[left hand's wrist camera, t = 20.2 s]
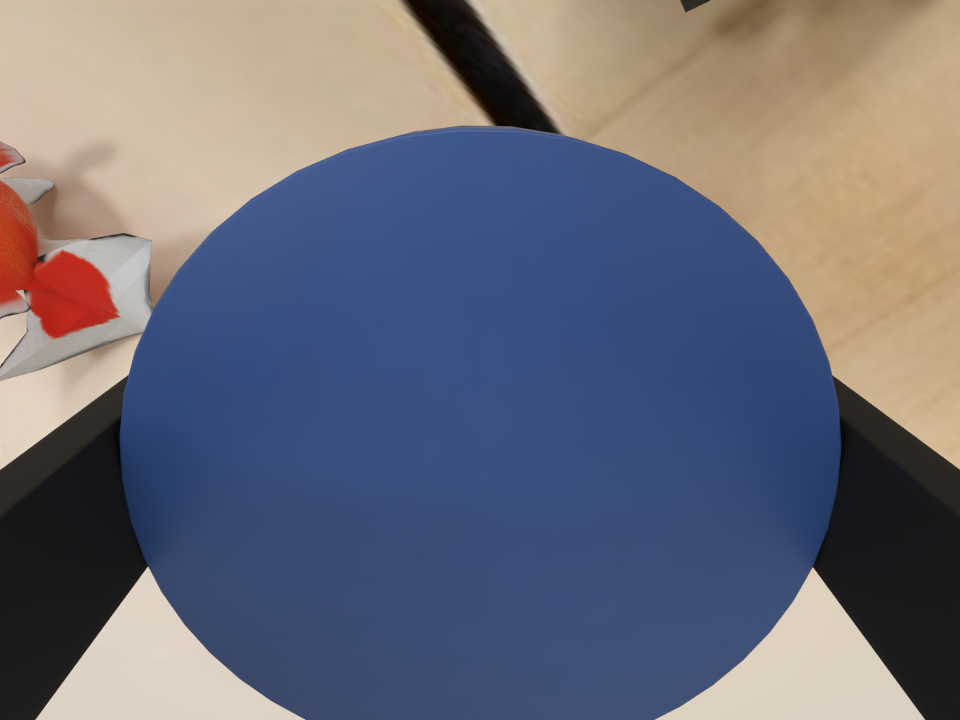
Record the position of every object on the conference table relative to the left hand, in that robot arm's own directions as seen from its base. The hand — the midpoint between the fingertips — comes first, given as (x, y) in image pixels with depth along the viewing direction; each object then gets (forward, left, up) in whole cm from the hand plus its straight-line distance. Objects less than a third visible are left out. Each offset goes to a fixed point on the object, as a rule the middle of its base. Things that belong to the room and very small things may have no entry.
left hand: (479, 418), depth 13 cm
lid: (0, 0, +3) cm, 3 cm away
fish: (-21, -1, -23) cm, 31 cm away
